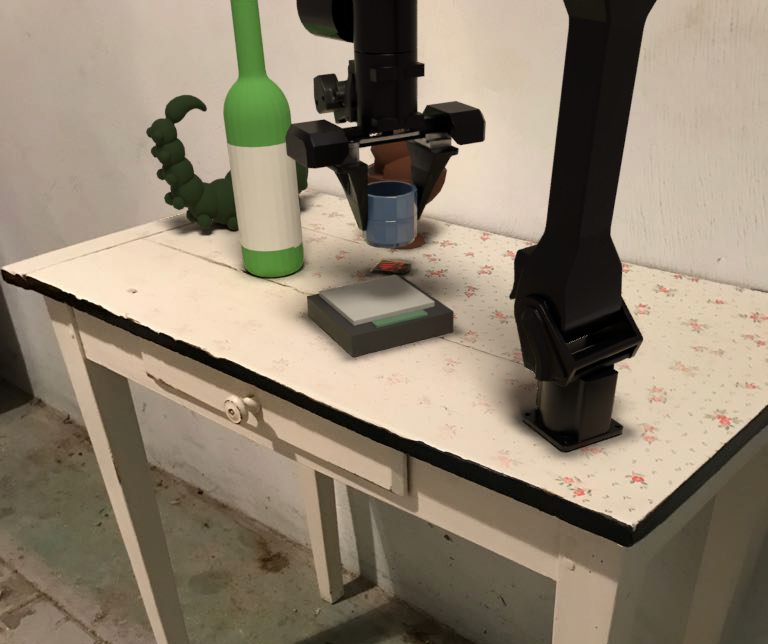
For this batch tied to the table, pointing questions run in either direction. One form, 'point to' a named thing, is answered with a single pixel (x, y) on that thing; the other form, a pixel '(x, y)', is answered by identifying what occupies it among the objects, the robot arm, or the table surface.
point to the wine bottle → (261, 156)
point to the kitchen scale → (379, 314)
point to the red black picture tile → (392, 266)
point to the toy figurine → (187, 186)
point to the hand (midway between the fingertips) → (389, 224)
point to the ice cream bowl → (398, 173)
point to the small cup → (391, 214)
